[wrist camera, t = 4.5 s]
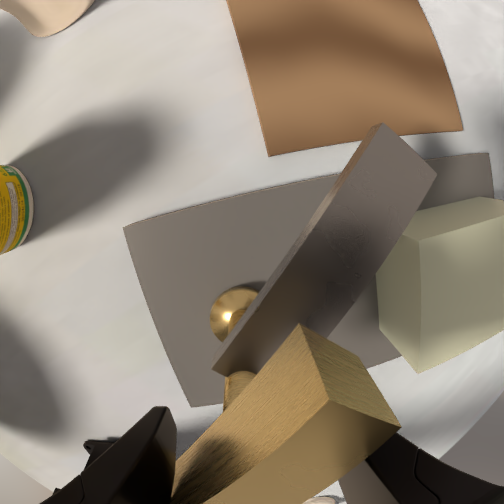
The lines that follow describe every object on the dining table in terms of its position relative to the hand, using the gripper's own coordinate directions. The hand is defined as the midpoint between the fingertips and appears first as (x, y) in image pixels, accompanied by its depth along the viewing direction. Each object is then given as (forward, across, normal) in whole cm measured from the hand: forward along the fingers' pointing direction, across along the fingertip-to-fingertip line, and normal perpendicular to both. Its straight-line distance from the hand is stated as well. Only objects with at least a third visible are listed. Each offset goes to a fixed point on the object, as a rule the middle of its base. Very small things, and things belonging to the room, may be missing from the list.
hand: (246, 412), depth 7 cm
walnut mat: (+8, -8, -13) cm, 17 cm away
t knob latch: (+7, -2, -2) cm, 7 cm away
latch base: (+8, -6, 0) cm, 10 cm away
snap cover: (+7, -11, -1) cm, 13 cm away
